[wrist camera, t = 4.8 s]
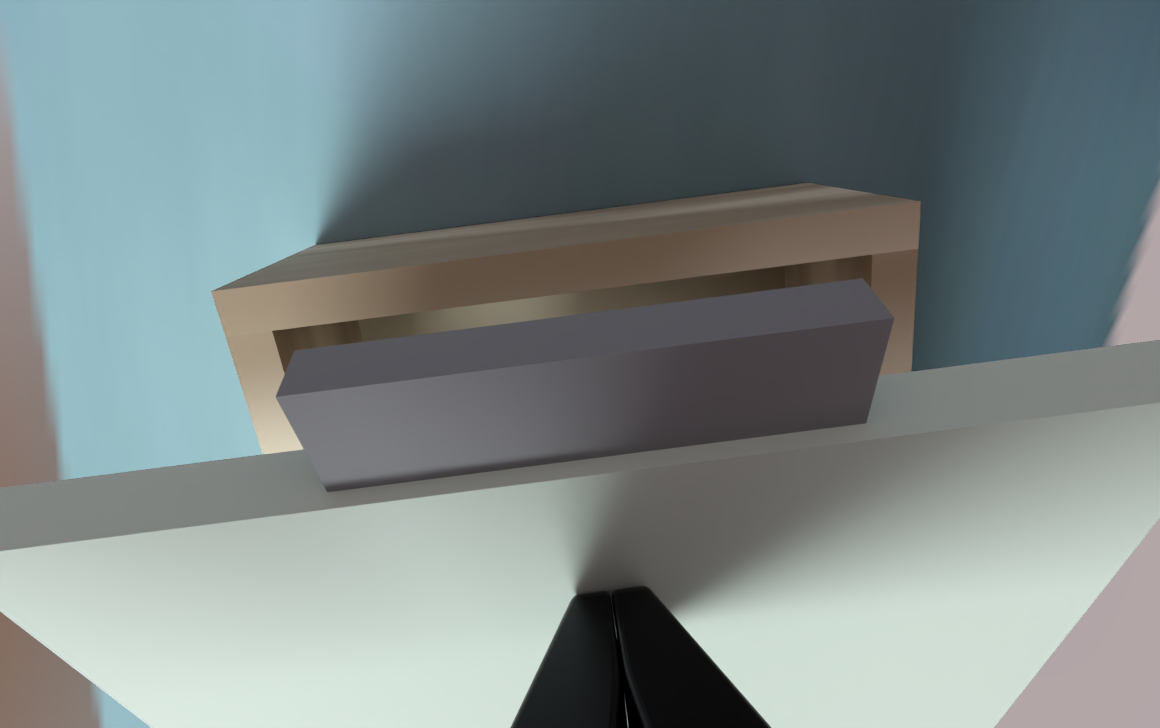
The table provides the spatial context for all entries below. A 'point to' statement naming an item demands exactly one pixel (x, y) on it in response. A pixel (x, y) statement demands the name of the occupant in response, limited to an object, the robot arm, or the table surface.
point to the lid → (610, 522)
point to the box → (566, 275)
